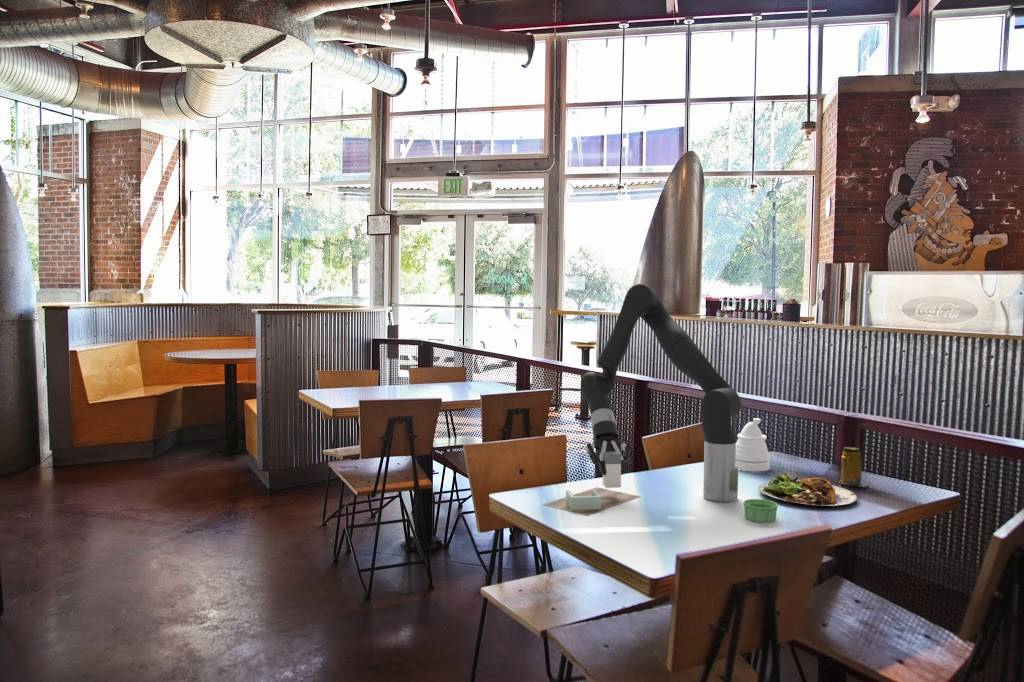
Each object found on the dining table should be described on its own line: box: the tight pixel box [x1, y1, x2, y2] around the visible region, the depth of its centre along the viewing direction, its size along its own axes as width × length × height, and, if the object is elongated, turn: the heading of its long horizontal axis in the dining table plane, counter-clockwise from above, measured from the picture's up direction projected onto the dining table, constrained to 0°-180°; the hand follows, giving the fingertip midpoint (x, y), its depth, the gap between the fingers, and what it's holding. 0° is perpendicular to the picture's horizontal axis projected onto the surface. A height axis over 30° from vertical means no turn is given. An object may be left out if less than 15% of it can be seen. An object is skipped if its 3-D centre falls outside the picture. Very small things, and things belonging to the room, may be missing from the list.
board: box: [542, 486, 642, 517], centre depth 217 cm, size 16×27×1 cm, turn 138°
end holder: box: [565, 489, 601, 510], centre depth 212 cm, size 8×8×4 cm
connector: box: [602, 451, 622, 489], centre depth 222 cm, size 4×4×10 cm
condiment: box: [840, 446, 866, 489], centre depth 242 cm, size 7×8×12 cm
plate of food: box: [757, 472, 857, 507], centre depth 226 cm, size 28×28×6 cm
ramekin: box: [743, 498, 779, 524], centre depth 204 cm, size 9×9×4 cm
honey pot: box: [736, 417, 771, 471], centre depth 265 cm, size 13×13×18 cm
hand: (613, 473), depth 220 cm, fingers closed on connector, 4 cm apart
